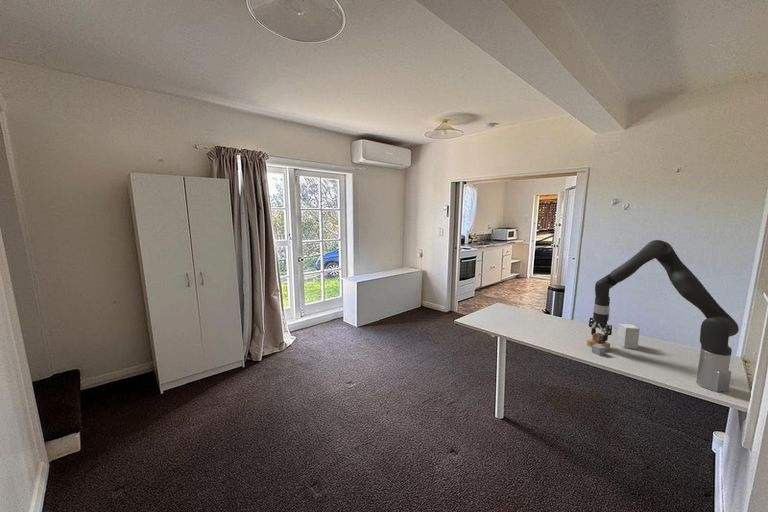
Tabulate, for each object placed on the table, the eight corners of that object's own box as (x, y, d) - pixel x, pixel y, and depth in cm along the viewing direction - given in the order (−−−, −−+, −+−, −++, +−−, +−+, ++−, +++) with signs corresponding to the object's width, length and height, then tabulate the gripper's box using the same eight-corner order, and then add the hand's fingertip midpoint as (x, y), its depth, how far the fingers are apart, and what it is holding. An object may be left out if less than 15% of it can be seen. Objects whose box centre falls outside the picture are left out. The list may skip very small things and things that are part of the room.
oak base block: (609, 350, 175) (610, 343, 175) (599, 351, 173) (599, 345, 173) (597, 344, 183) (597, 338, 182) (586, 345, 181) (587, 339, 180)
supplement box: (638, 349, 175) (640, 328, 173) (623, 348, 177) (625, 327, 175) (630, 343, 182) (632, 324, 181) (616, 342, 184) (618, 323, 182)
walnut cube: (605, 343, 175) (605, 335, 175) (598, 343, 175) (599, 336, 174) (598, 339, 180) (599, 332, 179) (592, 340, 179) (592, 333, 179)
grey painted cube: (604, 354, 169) (605, 347, 169) (599, 355, 168) (600, 348, 167) (596, 351, 173) (597, 344, 173) (591, 352, 172) (592, 345, 171)
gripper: (617, 315, 168) (614, 342, 170) (597, 307, 182) (595, 332, 184) (605, 316, 168) (602, 343, 170) (586, 308, 182) (584, 333, 184)
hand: (598, 337), depth 177 cm, fingers open, 8 cm apart
